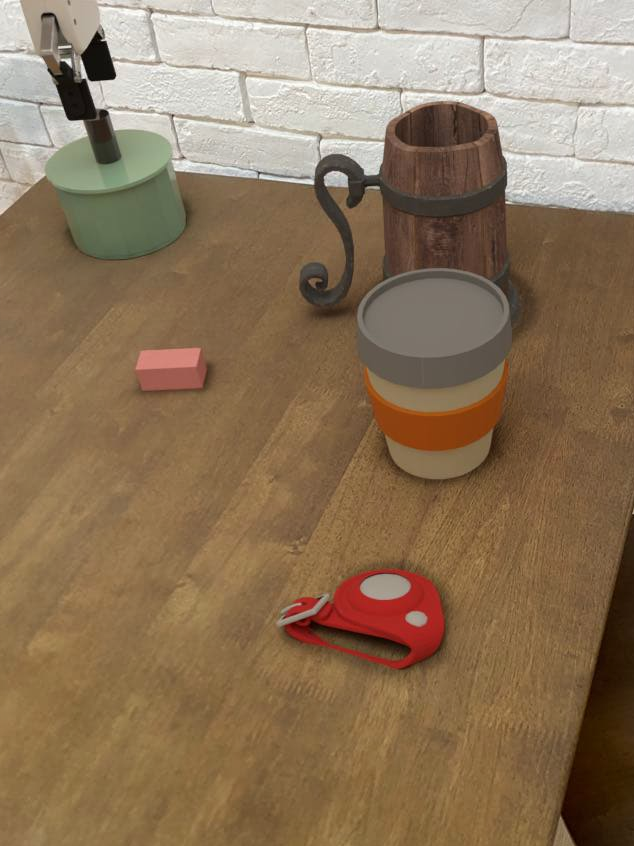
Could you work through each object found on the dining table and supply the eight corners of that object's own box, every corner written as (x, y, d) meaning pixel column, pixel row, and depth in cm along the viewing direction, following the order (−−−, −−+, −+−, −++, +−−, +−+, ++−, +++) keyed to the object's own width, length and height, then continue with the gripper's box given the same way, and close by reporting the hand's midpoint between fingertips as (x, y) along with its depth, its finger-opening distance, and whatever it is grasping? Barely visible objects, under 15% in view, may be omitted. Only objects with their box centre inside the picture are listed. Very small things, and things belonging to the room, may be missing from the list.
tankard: (519, 263, 104) (525, 78, 89) (537, 357, 93) (547, 163, 78) (310, 278, 105) (280, 97, 90) (302, 372, 94) (267, 183, 79)
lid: (33, 202, 104) (12, 149, 100) (65, 141, 114) (48, 90, 109) (162, 195, 104) (147, 141, 99) (183, 134, 113) (171, 82, 109)
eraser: (144, 397, 93) (134, 369, 90) (150, 378, 95) (140, 350, 92) (204, 395, 92) (196, 366, 90) (208, 375, 94) (201, 347, 92)
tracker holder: (397, 545, 76) (474, 598, 69) (398, 591, 78) (473, 648, 71) (263, 592, 70) (333, 656, 63) (268, 641, 72) (336, 708, 65)
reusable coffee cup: (468, 389, 90) (466, 250, 79) (535, 469, 82) (543, 327, 71) (349, 432, 87) (329, 294, 76) (406, 519, 79) (393, 379, 68)
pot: (62, 262, 110) (36, 195, 104) (89, 204, 120) (66, 138, 113) (176, 256, 110) (157, 188, 103) (194, 198, 119) (177, 131, 112)
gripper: (22, -105, 96) (78, 68, 109) (-30, -48, 85) (39, 138, 98) (94, -111, 96) (141, 63, 109) (51, -55, 84) (110, 132, 97)
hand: (93, 98), depth 103 cm, fingers open, 9 cm apart
